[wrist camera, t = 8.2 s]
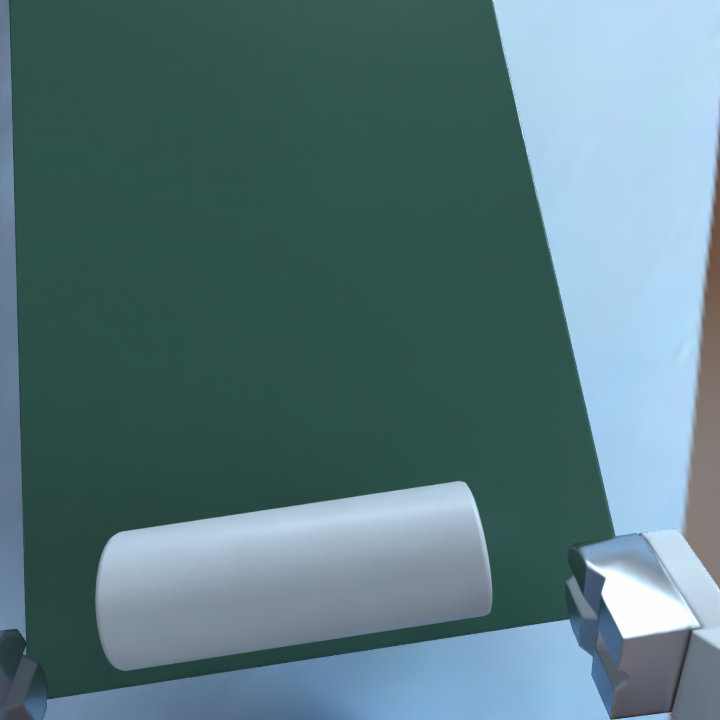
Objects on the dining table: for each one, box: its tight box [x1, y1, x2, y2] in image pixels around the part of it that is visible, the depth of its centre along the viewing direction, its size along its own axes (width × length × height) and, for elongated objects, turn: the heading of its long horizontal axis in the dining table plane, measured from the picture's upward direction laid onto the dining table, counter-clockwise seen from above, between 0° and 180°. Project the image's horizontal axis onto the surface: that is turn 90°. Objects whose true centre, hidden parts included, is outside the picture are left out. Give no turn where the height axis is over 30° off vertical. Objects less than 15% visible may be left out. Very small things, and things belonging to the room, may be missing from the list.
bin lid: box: [9, 0, 615, 699], centre depth 14 cm, size 19×13×6 cm, turn 8°
